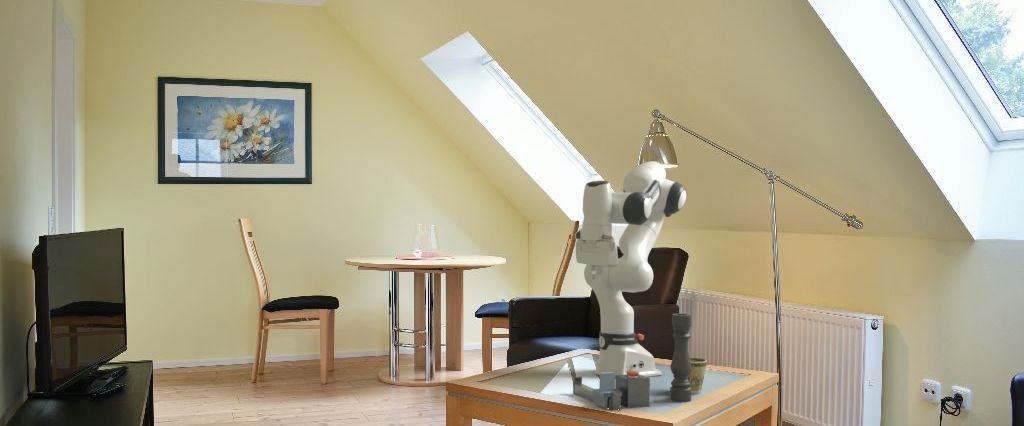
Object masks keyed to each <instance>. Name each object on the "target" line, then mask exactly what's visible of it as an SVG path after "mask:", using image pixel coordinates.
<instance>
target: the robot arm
mask: <svg viewBox="0 0 1024 426" xmlns="http://www.w3.org/2000/svg"><path fill="white" fill-rule="evenodd" d="M622 185H623V186H622V187H623V191H622V192H614V191H613V190H612V187H611V183H610V182H609V181H607V180H592V181H590V182H587V183H586V184H585V185H584V190H583V197H582V213H583V220H582V224H581V225H582V226H581V228H580V229H579V230H578V231H576V232H575V234H574V239H575V240H576V243H575V259H576V262H577V263H578V264H582V265H585V266H584V271H583V272H584V273H583V274H584V275H583V276H584V280H585V282H586V284H587V285H588V286H589V287H590V288H591V289H592V290H593V292H594V294H595V296H596V299H597V302H598V305H599V309H600V331H599V335H598V337H599V338H598V345H599V354H598V355H599V356H598V360H597V361H598V362H597V365H596V369H595V372H594V373H595V375H598V376H600V373H602V372H614V373H615V378H616V375H625V374H627V371H638V372H639V375H642V376H645V377H648V378H650V377H654V376H655V377H656V376H662V375H663V373H662V371H661V369H658V368H656V363H655V362H656V361H655V358H654V356H653V354H652V353H650V352H649V351H648V350H647V349H645V348H644V347H643V346H642V345H640V343H639V341H638V340H640V341H644V340H645V336H644V335H643V334H641V333H638V334H637V333H636V332H635V329H634V328H635V326H634V325H635V324H634V322H635V321H634V320H635V310H634V308H633V307H632V305H630V304H629V303H628V302H627V301H626V300H625V298H624V296H623V293H624V292H626V293H641V292H645V291H647V290H648V289H650V288H651V286H652V284H653V282H654V281H653V280H654V271H653V269H652V267H651V265H650V264H649V262H648V257H649V254H650V252H651V250H652V248H653V247H654V246H655V245H654V244H655V243H656V241H657V239H658V236H659V234H660V232H661V230H662V227H663V224H664V219H665V218H670V217H671V216H672V215H674V214H677V213H679V211H681V209H682V208H683V207H684V205H685V203H686V201H687V189H686V187H685V185H683V184H681V183H680V182H677V181H672V180H670V179H667V172H666V169H665V167H664V166H663V165H662V164H661V163H659V162H657V161H654V160H651V161H646V162H643V163H640V164H639V165H636V166H635V167H633V168H632V169H631V170H630V171H628V172H627V173H626V175H625V176H624V178H623V183H622ZM664 217H665V218H664ZM612 224H616V225H617V224H620V225H623V224H624V225H627V226H626V228H625V229H624V231H623V233H622V234H621V236H620V238H619V239H618V246H617V243H616V241H615V239H614V237H613V236H612V232H613V231H612V229H613V225H612ZM618 247H619V250H620V252H621V253H622V256H621V257H619V255H618Z"/></svg>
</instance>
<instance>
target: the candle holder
mask: <svg viewBox="0 0 1024 426" xmlns="http://www.w3.org/2000/svg"><path fill="white" fill-rule="evenodd" d="M692 317H693V316H692V314H689V313H678V312H677V313H672V314H671V326H672V329H673V331H674V333H673V334H672V338H673V339H674V351H673V355H672V359H671V361H670V362H671V363H670V370H671V373H672V374H673V375H672V376H673V379H672V381H671V382H670V384H671V386H670V387H669V400H670V401H672V402H676V403H677V402H678V403H687V402H691V401H692V394H691V388H690V387H689V386H690V385H691V384H690V382H689V380H688V377H689V376H688V375H689V374H690V373H691V370H692V367H691V362H690V358H689V357H690V354H689V353H690V352H689V340H690V339H691V334H689V332H690V330H691V327H692V323H693V322H692Z"/></svg>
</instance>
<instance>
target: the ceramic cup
mask: <svg viewBox="0 0 1024 426" xmlns="http://www.w3.org/2000/svg"><path fill="white" fill-rule="evenodd" d="M689 358H690V362H691V367H692V370H691V373H690V374H689V375H688V376H689V377H688V380H689V382H690V384H691V385H690V386H689V387H690V388H691V395H698V394H700V393H702V389H703V384H704V378H705V373H706V369H707V364H708V360H707V359H705V358H703V357H702V358H701V357H695V356H689Z"/></svg>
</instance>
